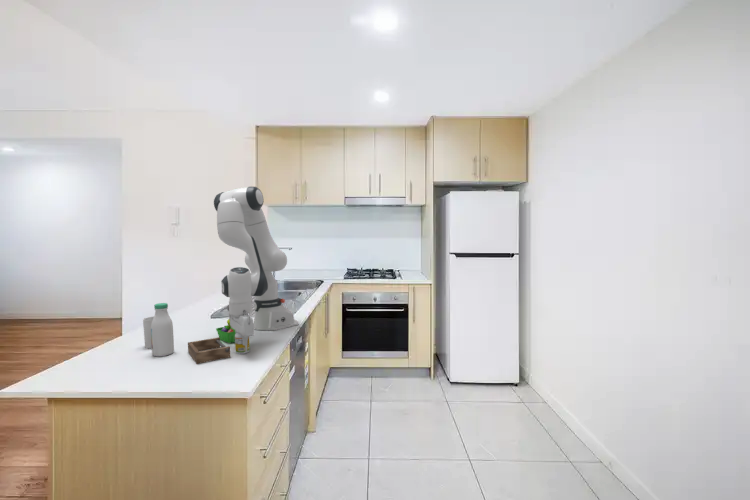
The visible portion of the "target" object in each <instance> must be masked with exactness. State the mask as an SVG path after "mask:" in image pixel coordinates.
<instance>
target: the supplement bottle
mask: <svg viewBox="0 0 750 500" xmlns="http://www.w3.org/2000/svg"><path fill="white" fill-rule="evenodd" d="M242 338H243V337H242V335H241V334H240V333H238V331H237V333H236V334H235V342H234V345H235V347H234V348H235V353H236V354H237V355H239V354H240V355H241V354H243V355H244V354H247V353H249V352H250V350H251V349H250V337H248V341H247V343H248V344H247V345H245V346H244V345H242Z"/></svg>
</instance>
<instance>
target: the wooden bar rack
mask: <svg viewBox="0 0 750 500" xmlns="http://www.w3.org/2000/svg"><path fill="white" fill-rule="evenodd" d="M187 353H188V354H189V355H190V357H191V358H192V359H193V361H194V362H195V364H196V365H198V364H203V363H208V362H213V361H218V360H223V359H228V358H231V346H229V345H228V346H226V345H225V344H224V343H223V342H221V340H220V338H219V336H218V337H213V338H207V339H201V340H195V341H188V342H187Z"/></svg>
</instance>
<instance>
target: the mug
mask: <svg viewBox="0 0 750 500" xmlns="http://www.w3.org/2000/svg"><path fill="white" fill-rule="evenodd" d="M154 316H155V315H154ZM154 316H153V315H152V316H147V317H144V318H143V319H142V322H143V323H142V324H143V336H144V337H143V338H144V348H146V349H152V343H151V324H152V320H153V318H154Z"/></svg>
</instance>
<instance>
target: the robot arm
mask: <svg viewBox="0 0 750 500" xmlns="http://www.w3.org/2000/svg"><path fill="white" fill-rule="evenodd" d="M213 205H214V206H213V207H214V209H215V211H216V227H217V234H218V237H219V239H220V241H222V243H224V244H226V245H228V246H230V247H233V248H236V249H239V250H241V251H244V252H245V255H244V262H245V265H246V266H247V267H248V268H247V267H241V266H240V267H239V266H238V267H233V268H231V269H230V270H229V273H228V275H225V276H224V277H223V278H222V279H221V294H222V295H224V296H225V297H227V298H229V299H228V304H227V307H226V308H227V311H228V319H229V321H230V326H231V327H232V328H233V329H234V330H235V332H236V333H237V331H238V333H240V334H241V335H242V337H243V338H242V345H244V346H245V345H247V344H248V343H247V341H248V337H249V338H250V337H253V336H254V334H255V330H257V331H278V330H283V329H286V328H290V327H296V326H298V325H299V321H298V320H296V319H295V317H294V313H293V312H292V310H290V309H289V308H287V307H286V306H285V305H283V304H285V303H286V299H284V298H280V297H279V286H278V285H279V283H278V281H277V279H275V277H274V275H273V272H280V271H282V270H284V269H285V268H286V267H287V265H288V257H287V255H286V253H285V252H283V251H282V249H280V248H279V247H278V245H277V244H276V242H275V240H274V239H273V238H274V237H272V235H271V232H270V228H269V225H268V223H267V220H266V217H265V213H264V212H263V209H262V208H263V205H264V195H263V192H262V190H261V189H259V188H258V187H257V186H248V187H239V188H234V189H231V190H228V191H223V192H220V193H218V194H216V195H215V196H214V199H213ZM252 297H254V301H253V298H252ZM253 308H254V309H253ZM253 310H254V311H253ZM253 312H254V319H253V316H251V315H250V314H252V313H253Z"/></svg>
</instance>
